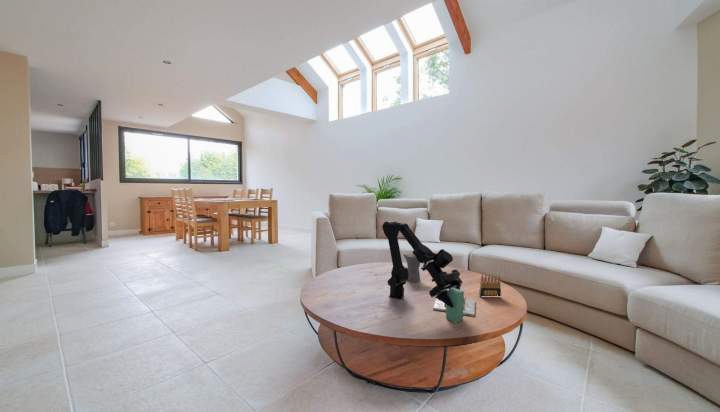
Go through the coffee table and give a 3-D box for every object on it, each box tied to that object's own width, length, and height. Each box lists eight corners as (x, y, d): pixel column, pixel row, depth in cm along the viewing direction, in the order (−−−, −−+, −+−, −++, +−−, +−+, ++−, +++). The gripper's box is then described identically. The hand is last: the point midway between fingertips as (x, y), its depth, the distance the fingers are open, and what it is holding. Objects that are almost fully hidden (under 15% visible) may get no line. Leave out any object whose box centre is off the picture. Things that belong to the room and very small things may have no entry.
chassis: (433, 309, 140) (433, 302, 140) (438, 296, 157) (438, 290, 157) (474, 316, 133) (474, 308, 133) (475, 302, 150) (475, 295, 150)
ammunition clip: (480, 297, 157) (481, 275, 156) (478, 296, 159) (479, 273, 158) (500, 297, 157) (502, 275, 156) (499, 296, 159) (500, 274, 158)
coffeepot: (400, 280, 183) (400, 251, 182) (405, 276, 191) (405, 248, 190) (424, 284, 176) (426, 254, 175) (429, 280, 184) (430, 251, 183)
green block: (446, 318, 131) (447, 290, 130) (452, 315, 134) (453, 287, 134) (456, 322, 127) (457, 293, 126) (462, 319, 131) (463, 291, 130)
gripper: (436, 267, 126) (458, 301, 119) (459, 260, 138) (481, 290, 131) (420, 281, 132) (440, 314, 125) (444, 273, 145) (464, 303, 137)
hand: (457, 304), depth 129 cm, fingers open, 8 cm apart
